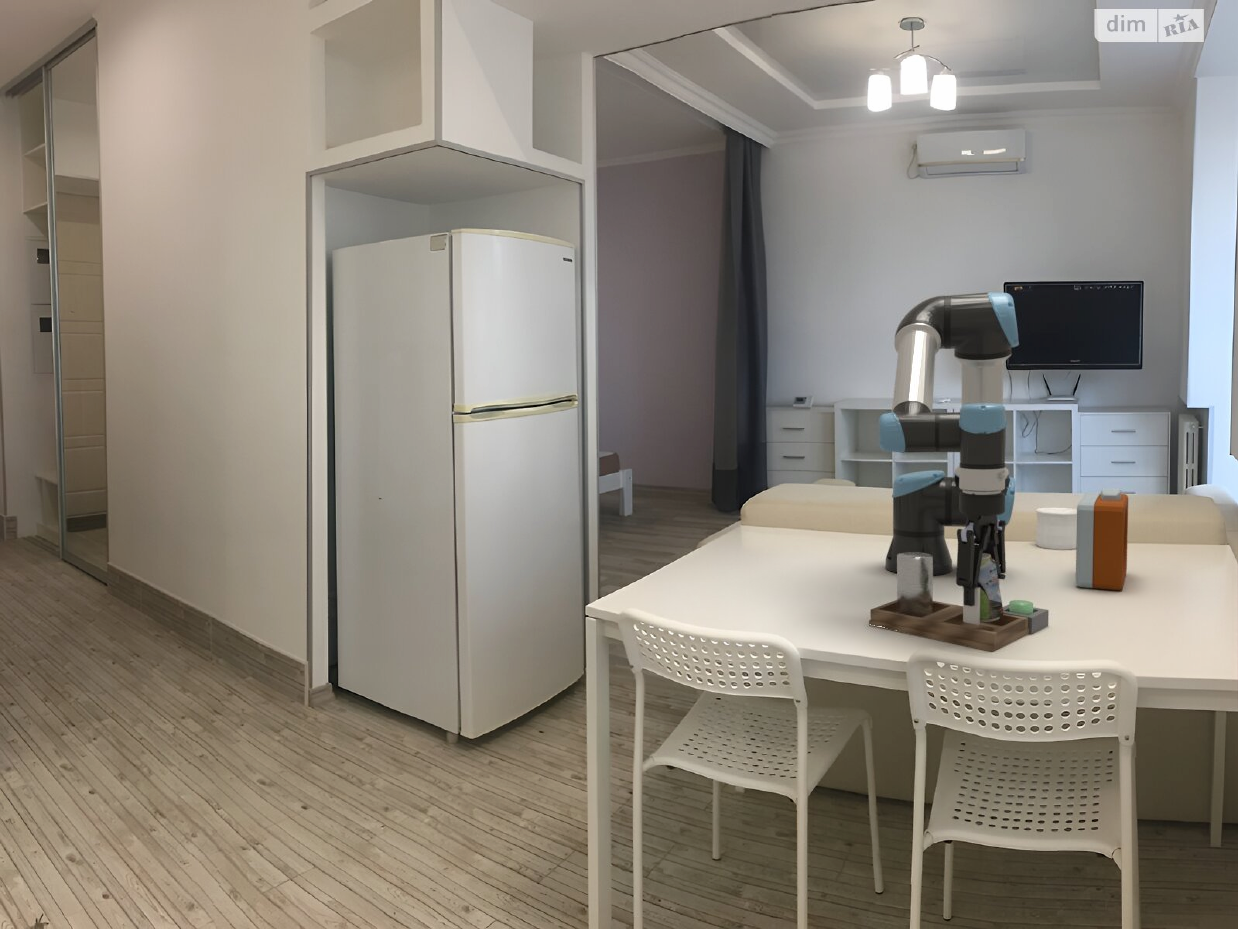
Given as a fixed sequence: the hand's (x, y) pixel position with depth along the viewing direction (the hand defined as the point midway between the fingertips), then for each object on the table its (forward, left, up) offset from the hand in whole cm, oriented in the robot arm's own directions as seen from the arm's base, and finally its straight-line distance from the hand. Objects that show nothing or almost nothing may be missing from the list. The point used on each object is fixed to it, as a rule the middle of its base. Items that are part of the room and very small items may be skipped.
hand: (981, 618), depth 160 cm
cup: (-21, +86, -4) cm, 89 cm away
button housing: (+3, +10, -3) cm, 11 cm away
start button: (+3, +10, -4) cm, 12 cm away
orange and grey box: (+1, +55, -4) cm, 55 cm away
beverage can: (0, 0, -1) cm, 1 cm away
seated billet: (-13, 0, -2) cm, 13 cm away
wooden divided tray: (-6, 0, -3) cm, 7 cm away
